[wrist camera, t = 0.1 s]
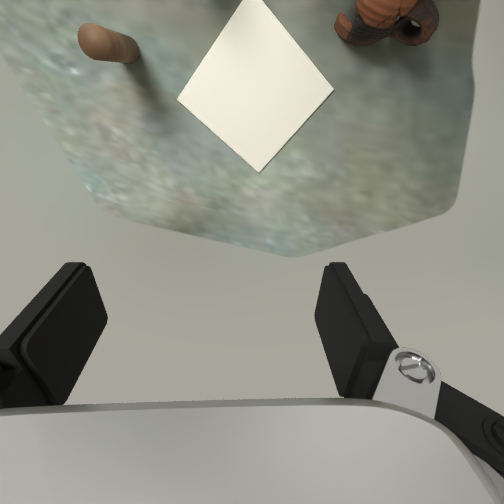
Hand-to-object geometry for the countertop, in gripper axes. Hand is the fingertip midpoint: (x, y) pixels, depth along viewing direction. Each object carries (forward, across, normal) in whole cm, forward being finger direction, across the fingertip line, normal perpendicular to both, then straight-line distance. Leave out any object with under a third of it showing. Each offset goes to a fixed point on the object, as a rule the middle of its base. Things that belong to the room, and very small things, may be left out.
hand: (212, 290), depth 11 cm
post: (+31, +12, -10) cm, 35 cm away
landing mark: (+31, -3, -6) cm, 32 cm away
